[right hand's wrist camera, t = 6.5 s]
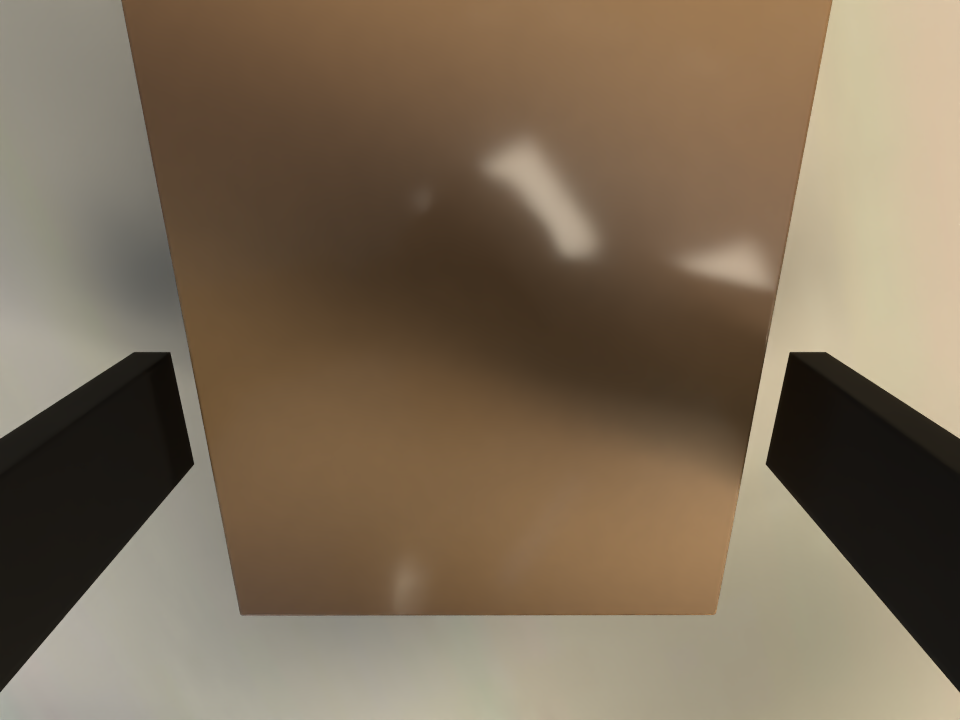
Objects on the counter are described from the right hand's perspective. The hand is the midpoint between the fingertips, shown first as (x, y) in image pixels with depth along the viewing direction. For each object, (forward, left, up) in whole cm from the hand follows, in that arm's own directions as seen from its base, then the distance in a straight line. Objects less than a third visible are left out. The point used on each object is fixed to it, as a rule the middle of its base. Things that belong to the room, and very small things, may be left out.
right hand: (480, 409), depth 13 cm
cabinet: (+3, -4, -7) cm, 8 cm away
